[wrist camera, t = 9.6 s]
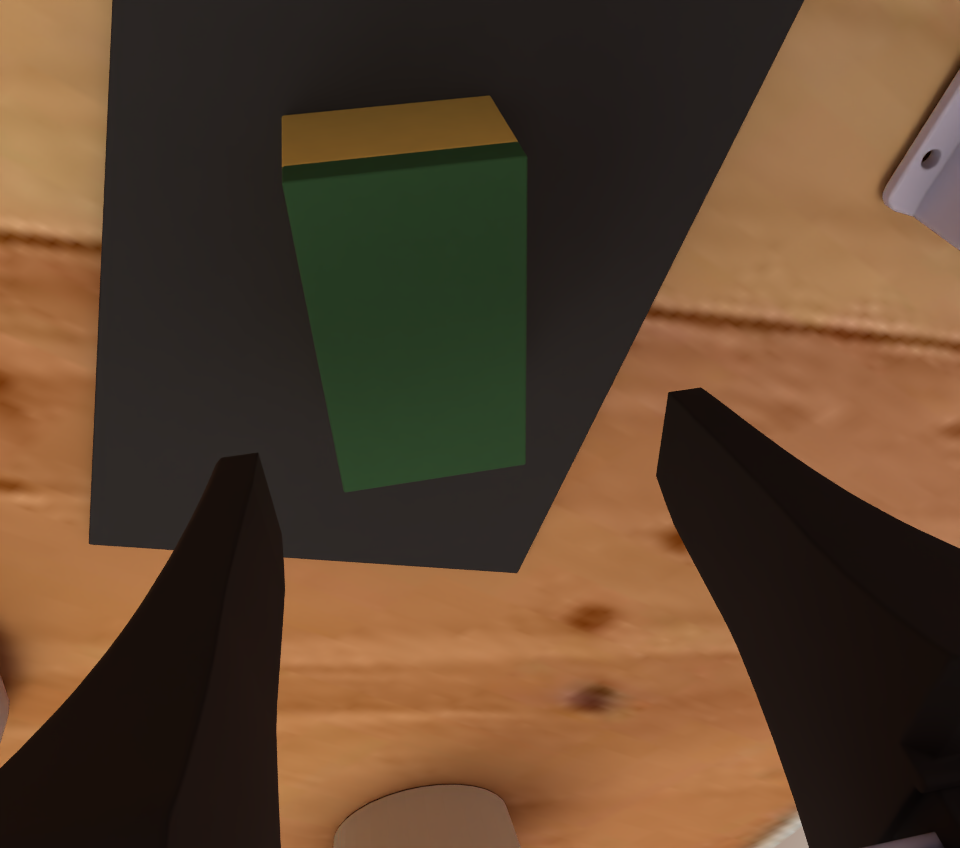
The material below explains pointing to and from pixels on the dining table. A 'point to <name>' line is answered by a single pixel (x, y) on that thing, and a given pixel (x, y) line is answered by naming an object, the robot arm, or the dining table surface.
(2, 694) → the donut
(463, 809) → the reusable coffee cup
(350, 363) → the sponge
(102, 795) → the robot arm
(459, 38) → the drying mat
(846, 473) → the dining table surface
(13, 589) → the dining table surface
